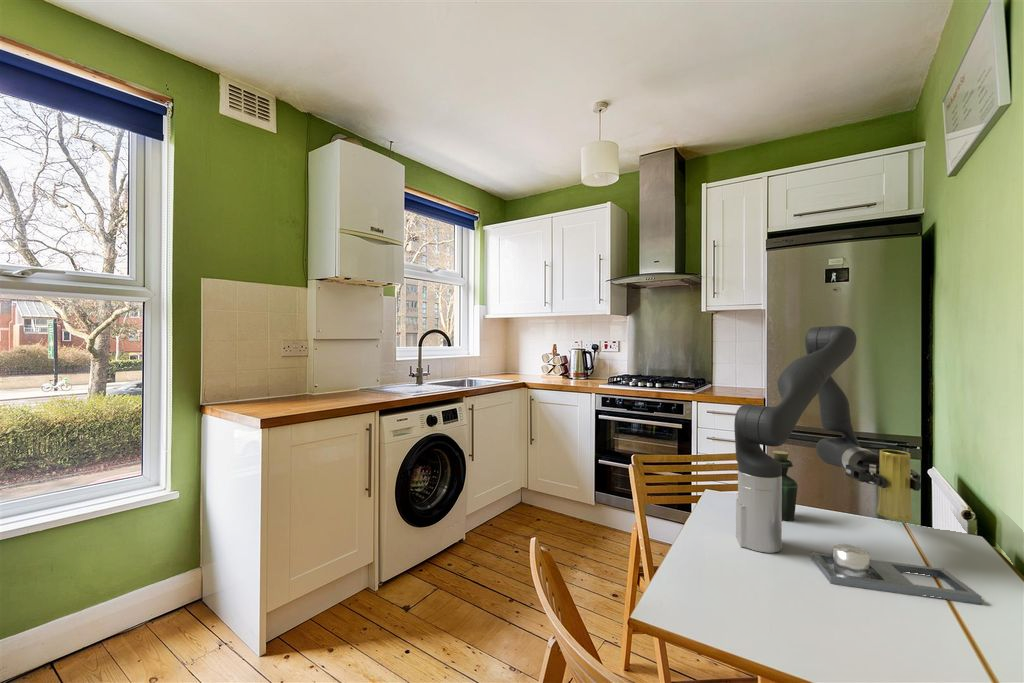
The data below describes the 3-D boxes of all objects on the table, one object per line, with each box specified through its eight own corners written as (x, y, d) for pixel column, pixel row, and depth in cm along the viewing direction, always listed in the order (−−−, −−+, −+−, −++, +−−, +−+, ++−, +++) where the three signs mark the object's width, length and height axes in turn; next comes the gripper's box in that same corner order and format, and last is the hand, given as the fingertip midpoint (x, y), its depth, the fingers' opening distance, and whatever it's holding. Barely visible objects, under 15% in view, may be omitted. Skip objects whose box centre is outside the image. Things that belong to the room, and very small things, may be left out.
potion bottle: (758, 515, 127) (758, 451, 127) (771, 509, 131) (771, 447, 132) (789, 524, 120) (790, 457, 120) (802, 518, 125) (802, 453, 125)
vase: (908, 514, 101) (909, 451, 101) (916, 523, 96) (916, 456, 96) (874, 508, 104) (874, 447, 105) (879, 517, 99) (880, 453, 99)
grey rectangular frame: (830, 583, 90) (830, 558, 90) (811, 558, 100) (811, 536, 101) (981, 604, 83) (981, 577, 83) (943, 575, 94) (943, 551, 94)
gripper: (832, 447, 116) (862, 464, 100) (899, 452, 112) (941, 470, 96) (832, 476, 116) (862, 498, 100) (899, 482, 112) (941, 505, 96)
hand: (901, 484), depth 98 cm, fingers closed on vase, 5 cm apart
